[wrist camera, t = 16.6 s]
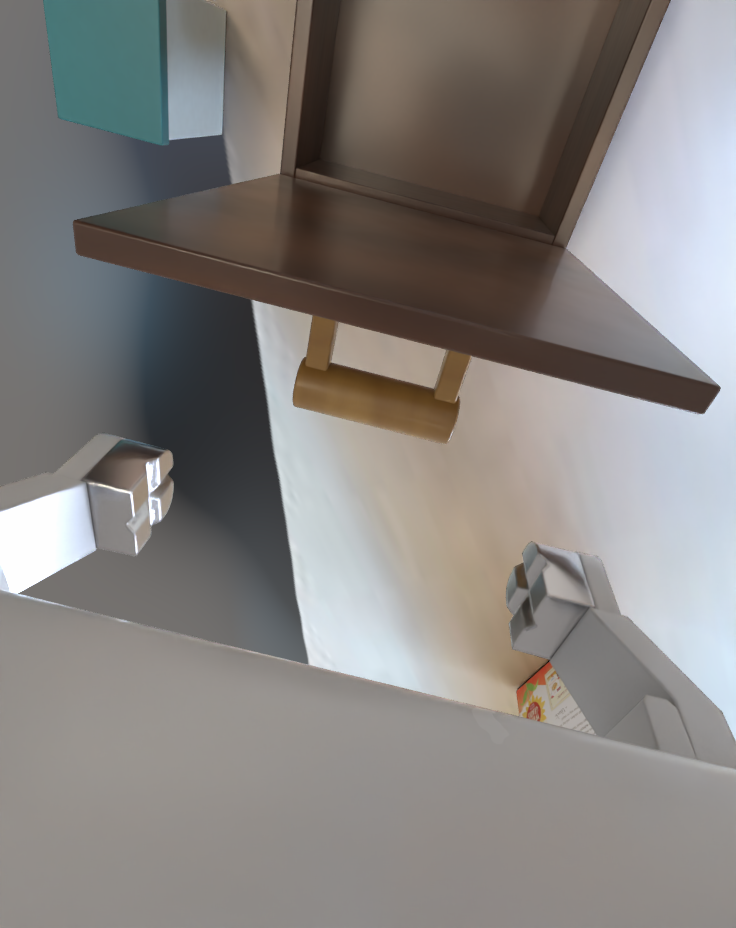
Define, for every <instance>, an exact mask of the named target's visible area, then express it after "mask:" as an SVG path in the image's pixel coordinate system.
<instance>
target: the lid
mask: <svg viewBox="0 0 736 928" xmlns="http://www.w3.org/2000/svg"><path fill="white" fill-rule="evenodd" d="M73 229H74V239H75V247H76V253H77V254H78V255H80V256H84V257H88V258H92V259H96V260H100V261H103V262H108V263H111V264H115V265H119V266H123V267H127V268H131V269H135V270H139V271H142V272H146V273H150V274H154V275H158V276H162V277H166V278H170V279H174V280H177V281H181V282H185V283H190V284H193V285H197V286H201V287H205V288H209V289H213V290H216V291H221V292H224V293H228V294H232V295H236V296H240V297H244V298H248V299H251V300H255V301H259V302H263V303H267V304H271V305H275V306H279V307H283V308H286V309H290V310H294V311H298V312H302V313H306V314H310V315H313V317H312V323H311V330H310V336H309V343H308V349H307V355H306V357H304V358H303V360H302V362H301V364H300V366H299V369H298V372H297V376H296V380H295V385H294V391H293V405H294V406H296V407H299V408H303V409H307V410H311V411H315V412H319V413H323V414H327V415H330V416H334V417H338V418H342V419H346V420H350V421H354V422H358V423H362V424H366V425H370V426H374V427H378V428H382V429H386V430H390V431H394V432H397V433H401V434H405V435H409V436H413V437H417V438H421V439H425V440H429V441H433V442H437V443H441V444H447V443H448V442H449V440H450V438H451V436H452V434H453V431H454V429H455V425H456V422H457V418H458V414H459V409H460V397H459V396H458V395H459V392H460V390H461V387H462V384H463V381H464V378H465V375H466V373H467V370H468V367H469V364H470V361H471V359H472V356H473V357H477V358H481V359H485V360H489V361H493V362H497V363H501V364H504V365H508V366H512V367H516V368H520V369H524V370H528V371H532V372H536V373H539V374H543V375H547V376H551V377H555V378H559V379H563V380H567V381H571V382H575V383H578V384H582V385H586V386H590V387H594V388H598V389H602V390H606V391H610V392H613V393H617V394H621V395H625V396H629V397H633V398H637V399H641V400H645V401H648V402H652V403H656V404H660V405H664V406H668V407H672V408H676V409H680V410H684V411H687V412H691V413H695V414H699V415H703V414H704V413H705V412H706V410H707V409H708V407H709V406H710V404H711V403H712V402H713V400H714V399H715V397H716V396H717V394H718V393H719V391H720V389H721V387H720V386H719V385H718V384H717V383H716V382H714V381H713V380H712V379H711V378H710V377H709V376H708V375H707V374H705V373H704V372H703V371H702V370H701V369H700V368H699V367H698V366H697V365H695V364H694V363H693V362H692V361H691V360H690V359H689V358H688V357H687V356H685V355H684V354H683V353H682V352H681V351H680V350H679V349H678V348H677V347H675V346H674V345H673V344H672V343H671V342H670V341H669V340H668V339H667V338H665V337H664V336H663V335H662V334H661V333H660V332H659V331H658V330H657V329H655V328H654V327H653V326H652V325H651V324H650V323H649V322H648V321H646V320H645V319H644V318H643V317H642V316H641V315H640V314H639V313H638V312H636V311H635V310H634V309H633V308H632V307H631V306H630V305H629V304H628V303H626V302H625V301H624V300H623V299H622V298H621V297H620V296H619V295H618V294H616V293H615V292H614V291H613V290H612V289H611V288H610V287H609V286H608V285H606V284H605V283H604V282H603V281H602V280H601V279H600V278H599V277H597V276H596V275H595V274H594V273H593V272H592V271H591V270H590V269H589V268H587V267H586V266H585V265H584V264H583V263H582V262H581V261H580V260H579V259H577V258H576V257H575V256H574V255H573V254H572V253H571V252H570V251H569V250H567V249H565V248H561V247H557V246H553V245H549V244H545V243H542V242H538V241H534V240H530V239H526V238H522V237H519V236H515V235H511V234H507V233H503V232H499V231H496V230H492V229H488V228H484V227H480V226H477V225H473V224H469V223H465V222H461V221H457V220H454V219H450V218H446V217H442V216H438V215H434V214H431V213H427V212H423V211H419V210H415V209H411V208H408V207H404V206H400V205H396V204H392V203H389V202H385V201H381V200H377V199H373V198H369V197H366V196H362V195H358V194H354V193H350V192H346V191H343V190H339V189H335V188H331V187H327V186H324V185H320V184H316V183H312V182H308V181H304V180H301V179H297V178H293V177H289V176H285V175H281V174H276V175H271V176H267V177H262V178H258V179H254V180H249V181H245V182H240V183H236V184H232V185H227V186H223V187H218V188H214V189H210V190H205V191H201V192H196V193H192V194H187V195H183V196H179V197H175V198H170V199H166V200H161V201H157V202H152V203H148V204H143V205H140V206H135V207H130V208H126V209H122V210H117V211H113V212H108V213H104V214H100V215H95V216H90V217H86V218H82V219H77V220H74V221H73ZM339 322H341V323H345V324H349V325H353V326H357V327H360V328H364V329H368V330H372V331H376V332H380V333H384V334H388V335H392V336H395V337H399V338H403V339H407V340H411V341H415V342H419V343H423V344H427V345H430V346H434V347H438V348H442V349H446V353H445V356H444V359H443V362H442V366H441V369H440V372H439V375H438V378H437V381H436V384H435V387H434V389H432V388H428V387H425V386H421V385H417V384H413V383H409V382H405V381H401V380H397V379H393V378H389V377H385V376H382V375H378V374H374V373H370V372H366V371H362V370H358V369H354V368H350V367H346V366H342V365H338V364H335V363H331V360H332V355H333V349H334V344H335V339H336V333H337V328H338V323H339Z"/></svg>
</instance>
